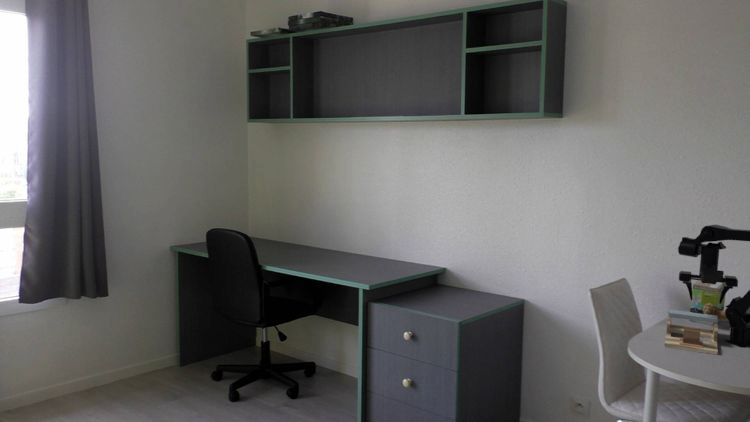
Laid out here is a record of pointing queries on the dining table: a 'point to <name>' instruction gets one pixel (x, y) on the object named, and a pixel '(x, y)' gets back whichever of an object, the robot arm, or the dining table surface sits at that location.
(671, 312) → the sliding slat
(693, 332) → the walnut block
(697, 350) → the puzzle board
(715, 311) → the lion figurine
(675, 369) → the dining table surface
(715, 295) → the tea box
